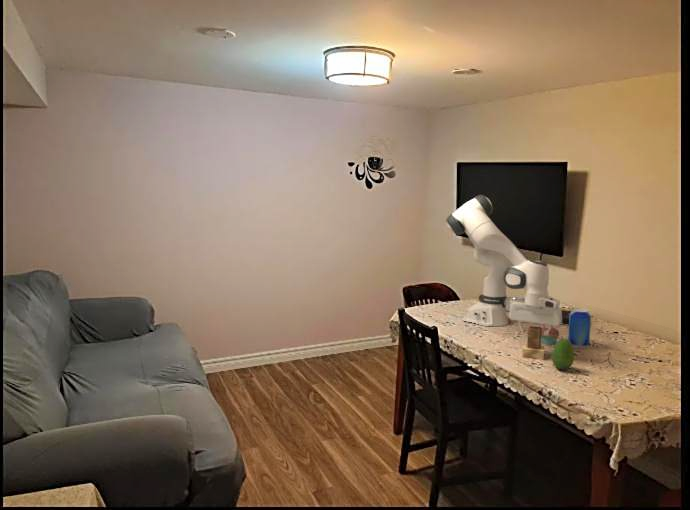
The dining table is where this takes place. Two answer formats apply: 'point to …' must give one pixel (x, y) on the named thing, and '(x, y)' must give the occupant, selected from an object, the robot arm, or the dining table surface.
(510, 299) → the ramekin
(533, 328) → the walnut block
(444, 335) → the dining table surface
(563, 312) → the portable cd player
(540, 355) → the oak block
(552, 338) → the cupcake
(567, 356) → the avocado
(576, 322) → the beer can
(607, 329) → the dining table surface
